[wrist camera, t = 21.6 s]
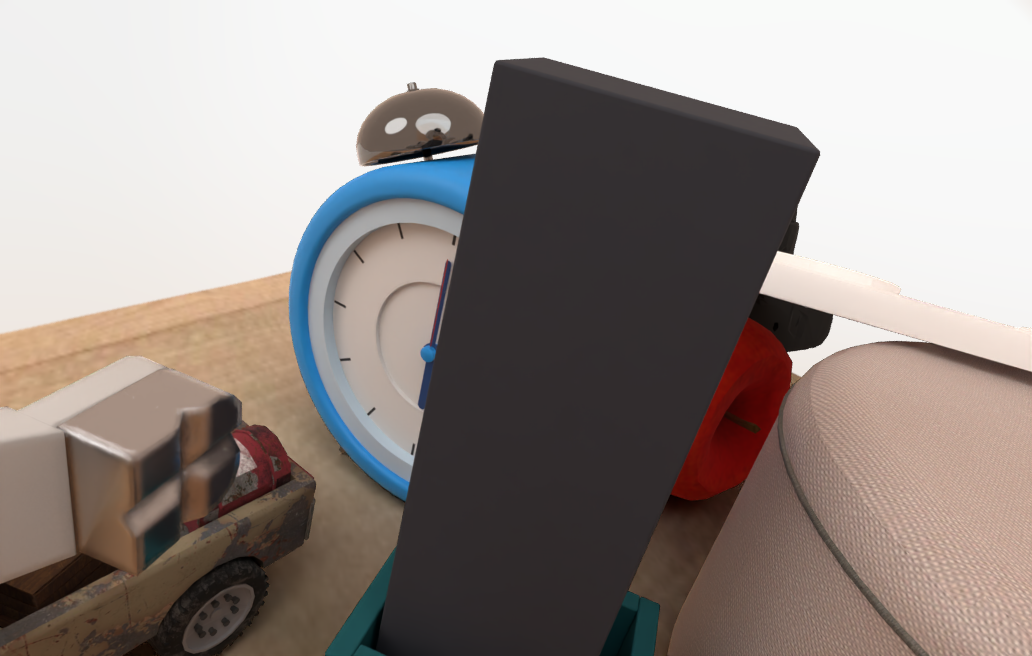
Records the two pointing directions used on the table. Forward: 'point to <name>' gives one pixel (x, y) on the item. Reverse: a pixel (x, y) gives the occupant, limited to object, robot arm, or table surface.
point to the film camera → (791, 311)
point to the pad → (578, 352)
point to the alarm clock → (384, 279)
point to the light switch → (893, 309)
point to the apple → (737, 416)
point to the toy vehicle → (171, 573)
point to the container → (879, 516)
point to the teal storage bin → (622, 652)
